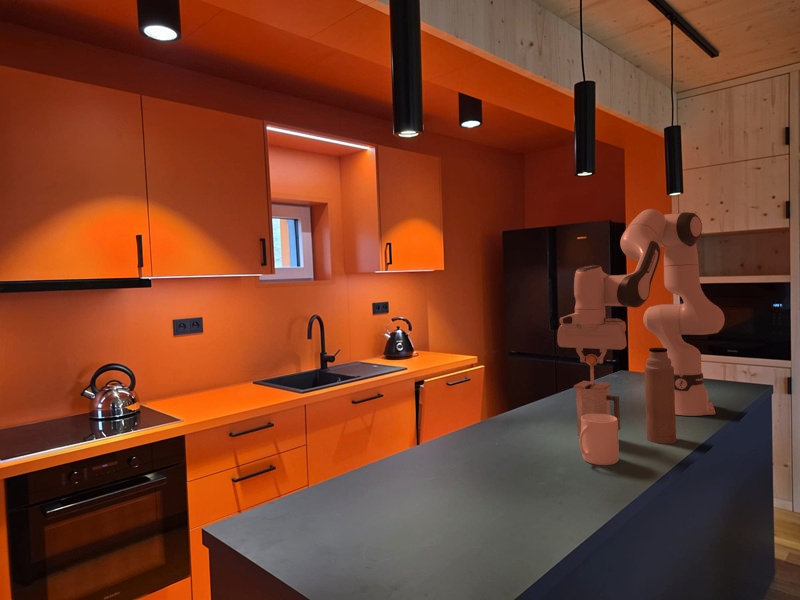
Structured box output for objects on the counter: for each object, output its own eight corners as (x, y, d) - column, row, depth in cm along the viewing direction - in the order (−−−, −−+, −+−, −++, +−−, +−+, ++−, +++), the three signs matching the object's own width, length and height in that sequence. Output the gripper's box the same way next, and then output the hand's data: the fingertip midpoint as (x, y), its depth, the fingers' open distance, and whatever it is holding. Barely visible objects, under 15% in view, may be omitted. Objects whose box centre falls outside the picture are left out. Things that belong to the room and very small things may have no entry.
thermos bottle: (671, 435, 160) (668, 346, 159) (679, 443, 152) (677, 349, 151) (643, 435, 161) (640, 346, 160) (650, 443, 153) (647, 350, 152)
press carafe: (584, 433, 166) (582, 380, 166) (623, 439, 159) (622, 383, 158) (575, 440, 159) (572, 385, 159) (615, 447, 152) (613, 389, 151)
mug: (625, 459, 142) (623, 417, 141) (604, 471, 133) (603, 426, 133) (592, 451, 149) (591, 411, 148) (571, 463, 140) (569, 420, 140)
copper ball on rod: (586, 406, 164) (584, 352, 164) (608, 409, 160) (606, 353, 159) (578, 411, 159) (576, 354, 158) (601, 414, 155) (599, 356, 154)
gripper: (628, 317, 155) (630, 363, 155) (562, 317, 167) (563, 359, 168) (622, 319, 150) (624, 366, 150) (554, 318, 162) (556, 362, 163)
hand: (591, 362), depth 159 cm, fingers closed on copper ball on rod, 4 cm apart
